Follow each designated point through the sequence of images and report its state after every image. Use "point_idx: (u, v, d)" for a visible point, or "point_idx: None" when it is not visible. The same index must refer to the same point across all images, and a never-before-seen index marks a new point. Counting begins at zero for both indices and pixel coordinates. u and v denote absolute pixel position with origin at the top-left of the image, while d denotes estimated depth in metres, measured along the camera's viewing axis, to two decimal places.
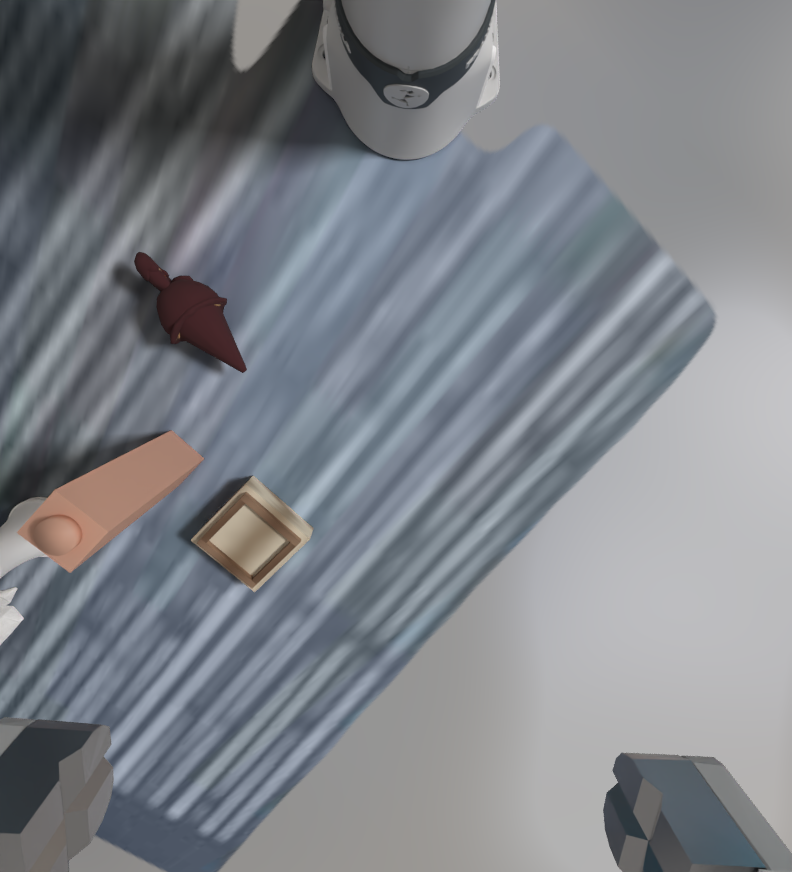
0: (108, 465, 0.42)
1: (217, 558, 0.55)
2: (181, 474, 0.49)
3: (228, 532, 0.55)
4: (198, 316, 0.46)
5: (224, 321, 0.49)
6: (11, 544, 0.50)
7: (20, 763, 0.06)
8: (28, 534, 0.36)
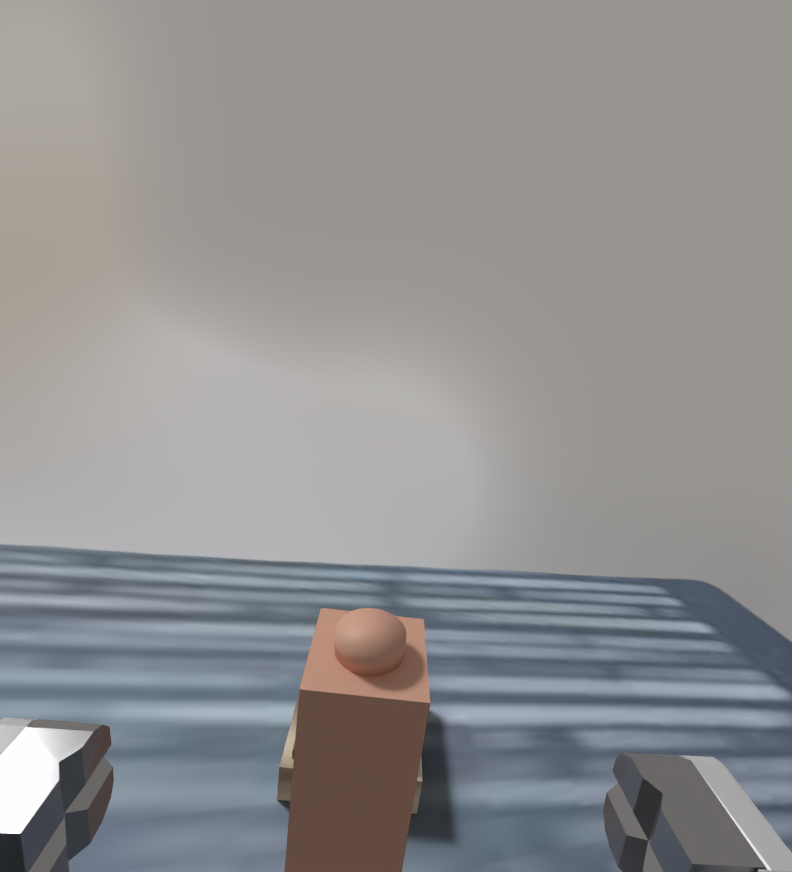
0: None
1: None
2: None
3: None
4: None
5: None
6: None
7: (20, 763, 0.06)
8: (416, 686, 0.18)
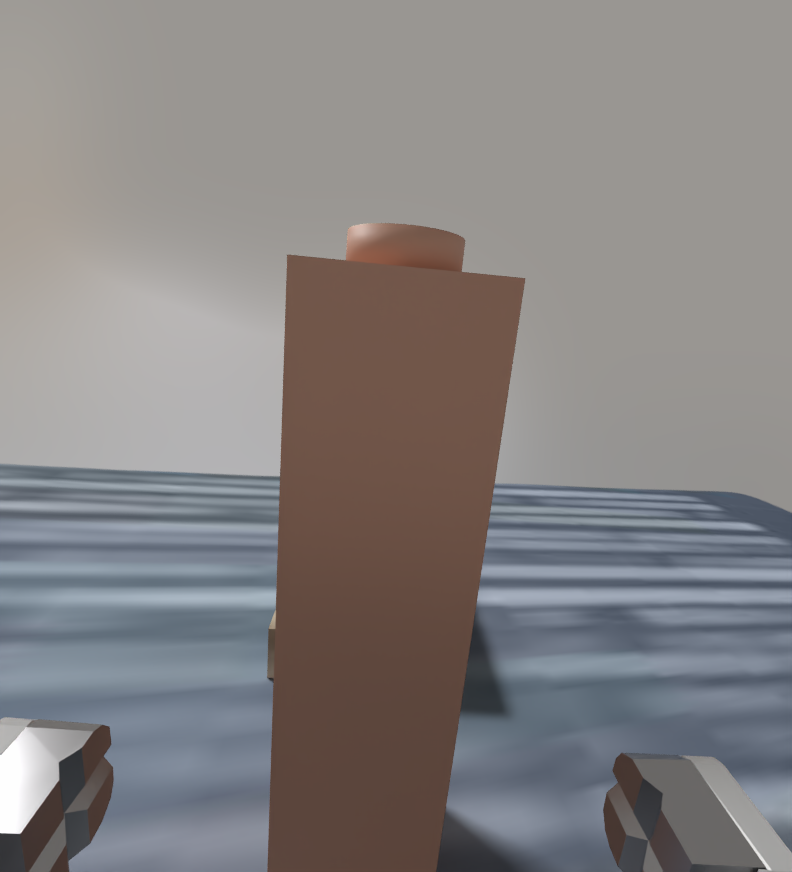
0: None
1: None
2: None
3: None
4: None
5: None
6: None
7: (20, 763, 0.06)
8: None
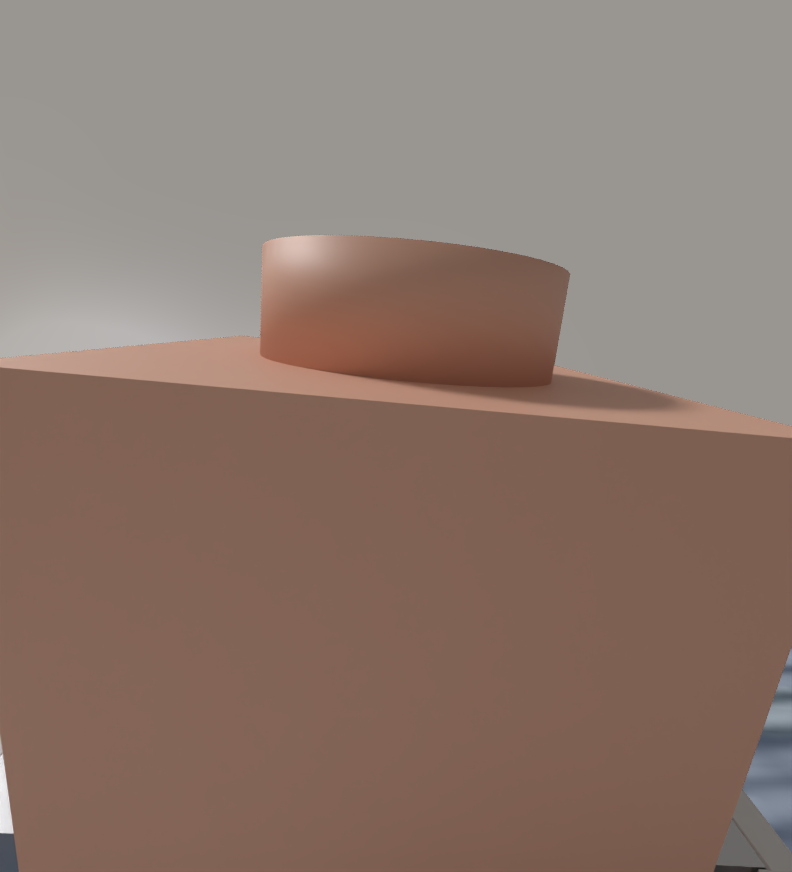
0: None
1: None
2: None
3: None
4: None
5: None
6: None
7: None
8: (689, 411, 0.03)
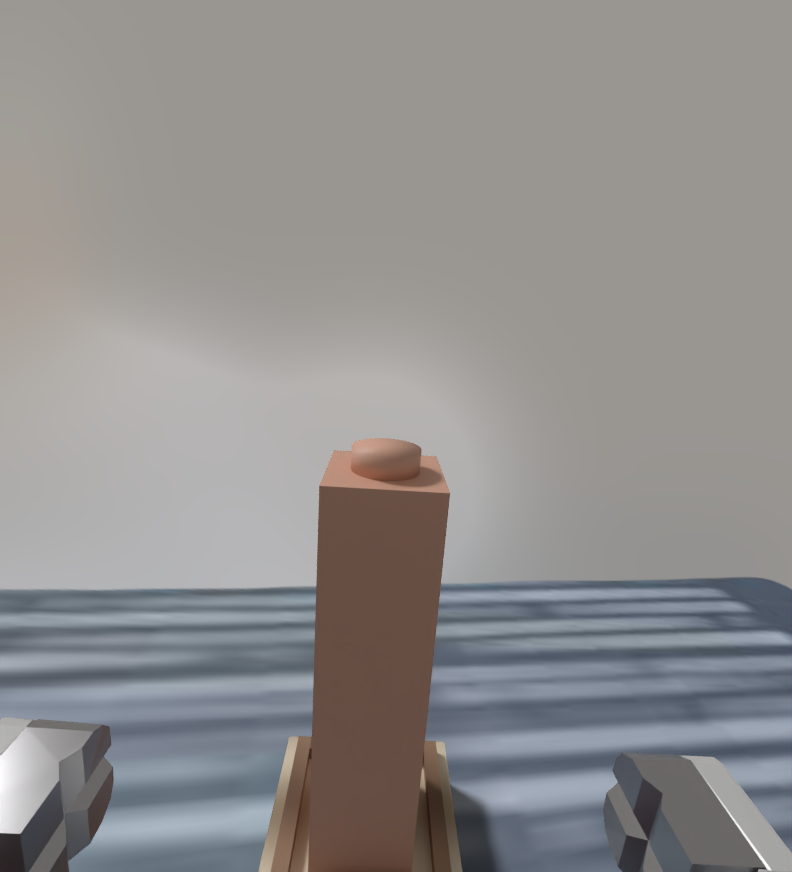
0: None
1: (443, 836, 0.24)
2: None
3: None
4: None
5: None
6: None
7: (20, 763, 0.06)
8: (434, 485, 0.18)
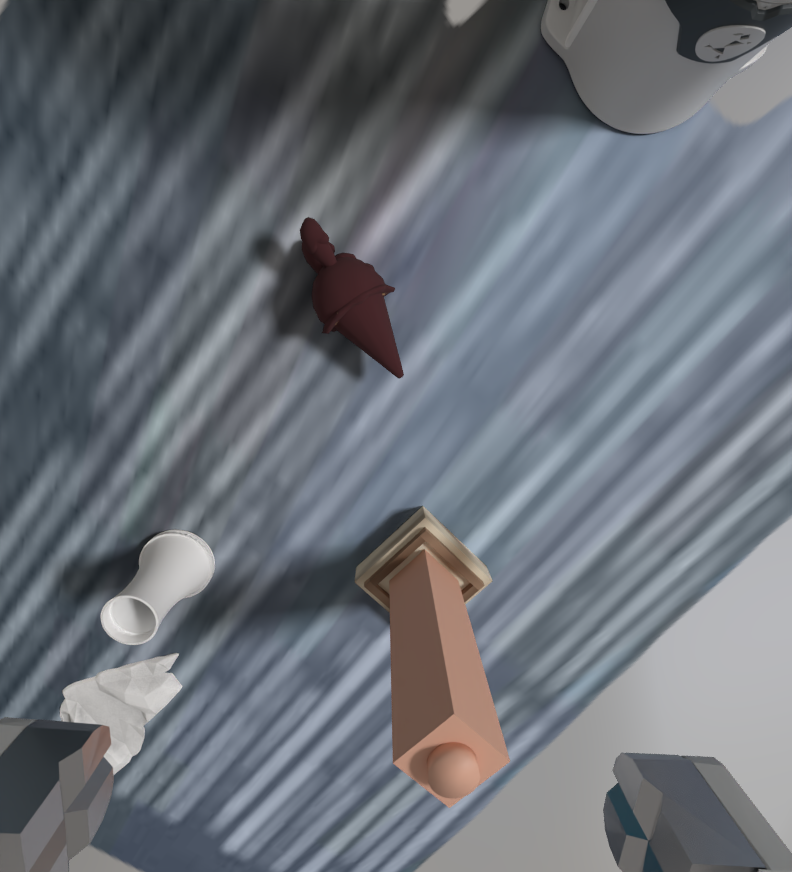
0: (442, 639, 0.33)
1: (386, 603, 0.47)
2: (468, 617, 0.41)
3: None
4: (366, 305, 0.38)
5: (387, 314, 0.40)
6: (163, 591, 0.42)
7: (20, 763, 0.06)
8: (407, 765, 0.28)
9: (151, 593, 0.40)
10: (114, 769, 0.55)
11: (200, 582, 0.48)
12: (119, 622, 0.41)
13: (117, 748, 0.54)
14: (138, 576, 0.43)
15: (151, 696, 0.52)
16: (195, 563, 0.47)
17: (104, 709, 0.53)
